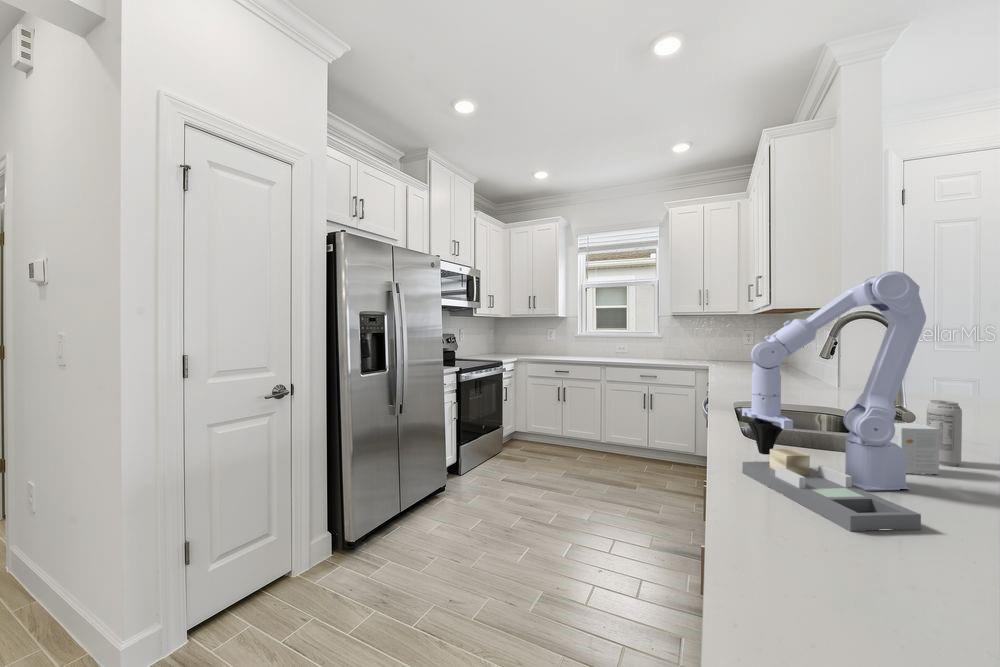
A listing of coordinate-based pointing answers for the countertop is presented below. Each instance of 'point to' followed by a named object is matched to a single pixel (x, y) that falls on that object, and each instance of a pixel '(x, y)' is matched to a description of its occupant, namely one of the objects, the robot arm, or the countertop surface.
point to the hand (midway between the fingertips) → (765, 453)
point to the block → (790, 460)
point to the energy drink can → (946, 429)
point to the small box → (918, 447)
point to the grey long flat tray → (835, 498)
